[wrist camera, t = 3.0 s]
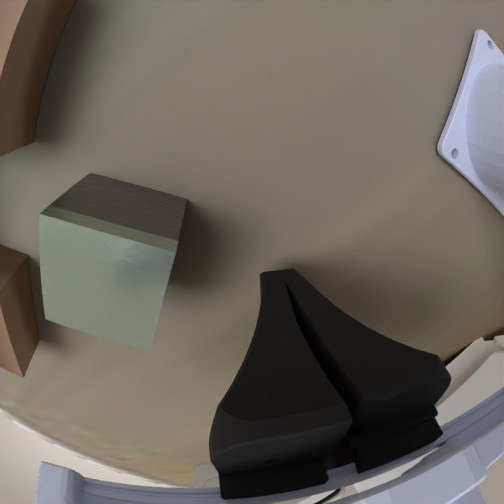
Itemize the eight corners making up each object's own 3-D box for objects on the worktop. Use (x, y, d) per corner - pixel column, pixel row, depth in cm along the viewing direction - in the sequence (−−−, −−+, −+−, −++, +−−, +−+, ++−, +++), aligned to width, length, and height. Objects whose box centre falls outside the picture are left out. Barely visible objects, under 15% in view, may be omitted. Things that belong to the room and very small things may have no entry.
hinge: (216, 474, 28) (207, 536, 18) (195, 456, 27) (180, 522, 17) (344, 438, 26) (362, 507, 16) (331, 416, 25) (350, 493, 15)
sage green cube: (187, 198, 11) (176, 252, 7) (163, 281, 12) (151, 350, 9) (90, 172, 9) (39, 213, 6) (81, 258, 11) (45, 319, 8)
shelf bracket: (315, 396, 19) (398, 525, 9) (491, 282, 25) (560, 341, 14) (313, 423, 22) (378, 528, 12) (477, 316, 27) (538, 372, 17)
